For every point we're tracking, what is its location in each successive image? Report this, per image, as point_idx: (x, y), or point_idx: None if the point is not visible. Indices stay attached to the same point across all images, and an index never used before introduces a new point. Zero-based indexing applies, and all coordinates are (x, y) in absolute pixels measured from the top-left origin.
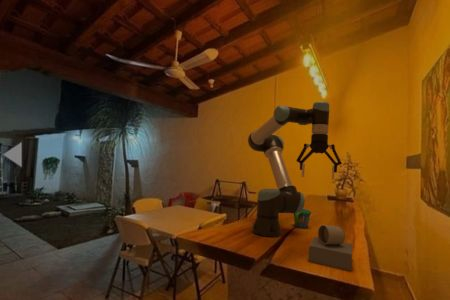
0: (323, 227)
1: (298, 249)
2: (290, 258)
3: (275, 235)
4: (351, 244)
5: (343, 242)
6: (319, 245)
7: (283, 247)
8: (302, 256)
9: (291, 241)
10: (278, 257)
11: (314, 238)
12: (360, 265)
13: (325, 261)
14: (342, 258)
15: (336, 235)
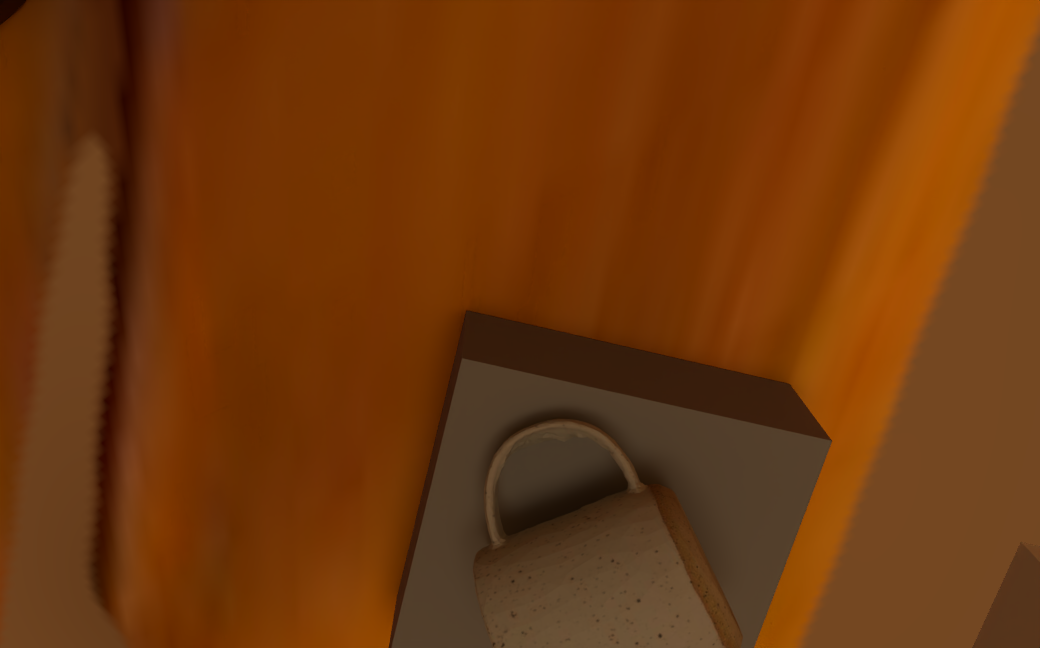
0: (530, 614)
1: (315, 348)
2: (255, 596)
3: (12, 8)
4: (814, 467)
5: (748, 433)
6: (479, 633)
7: (168, 353)
8: (352, 514)
9: (231, 101)
10: (160, 614)
11: (453, 430)
12: (809, 518)
13: None
14: None
15: None
